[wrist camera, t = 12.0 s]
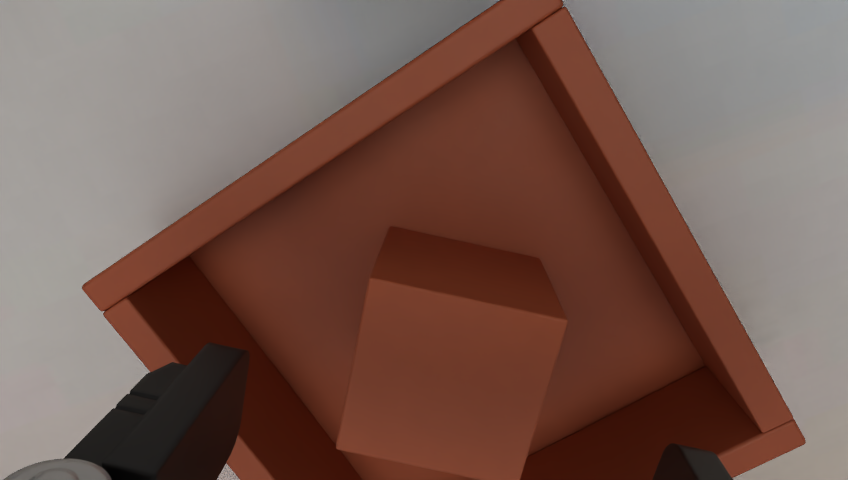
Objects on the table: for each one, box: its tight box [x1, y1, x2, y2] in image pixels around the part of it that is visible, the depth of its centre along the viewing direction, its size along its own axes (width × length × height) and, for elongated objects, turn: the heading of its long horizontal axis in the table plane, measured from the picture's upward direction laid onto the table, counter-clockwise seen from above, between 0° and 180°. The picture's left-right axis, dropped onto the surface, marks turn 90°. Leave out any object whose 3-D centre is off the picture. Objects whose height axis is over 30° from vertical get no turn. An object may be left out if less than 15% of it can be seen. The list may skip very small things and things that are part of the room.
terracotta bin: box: [82, 0, 806, 480], centre depth 16 cm, size 13×13×4 cm
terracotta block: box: [336, 226, 568, 480], centre depth 16 cm, size 4×4×4 cm
